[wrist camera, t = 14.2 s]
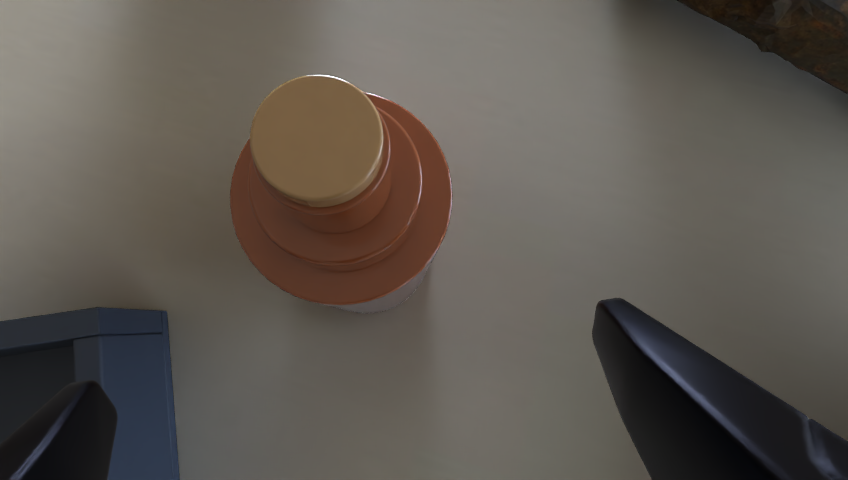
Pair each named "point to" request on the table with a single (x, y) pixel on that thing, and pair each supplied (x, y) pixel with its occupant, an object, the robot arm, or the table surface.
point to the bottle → (340, 195)
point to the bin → (97, 379)
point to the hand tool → (790, 31)
